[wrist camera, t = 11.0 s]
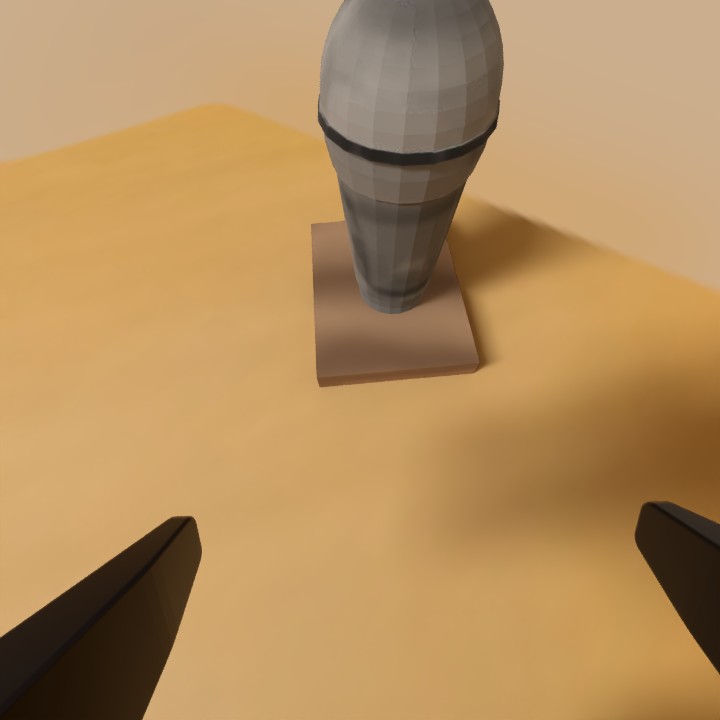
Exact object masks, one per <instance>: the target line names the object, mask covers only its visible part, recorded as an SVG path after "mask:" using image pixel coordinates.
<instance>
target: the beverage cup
mask: <svg viewBox="0 0 720 720" xmlns="http://www.w3.org/2000/svg"><path fill="white" fill-rule="evenodd" d="M503 66H504V62H503V44H502V39H501V34H500V28H499V25H498V22H497V19H496V17H495V14H494V11H493V8H492V6H491V4H490V2H489V0H344V2H343V3H342V5H341V7H340V9H339V10H338V12H337V14H336V16H335V18H334V20H333V22H332V24H331V27H330V30H329V32H328V35H327V38H326V41H325V45H324V50H323V55H322V59H321V72H320V94H319V101H318V122H319V124H320V126H321V127H322V129H323V131H324V136H325V142H326V145H327V148H328V151H329V155H330V158H331V161H332V164H333V167H334V168H335V170H336V172H337V177H338V183H339V188H340V193H341V199H342V204H343V210H344V215H345V221H346V226H347V232H348V237H349V242H350V248H351V253H352V259H353V264H354V270H355V275H356V279H357V281H358V285H359V288H360V294H361V296H362V299H363V301H364V302H365V303H366V304H367V305H368V306H369V307H371V308H373V309H375V310H376V311H378V312H382V313H387V314H400V313H403V312H406V311H409V310H411V309H412V308H414V307H415V306H416V305H418V303H419V302H420V301H421V299H422V298H423V294H424V292H425V290H426V287H427V286H428V284H429V282H430V279H431V277H432V274H433V271H434V268H435V266H436V263H437V260H438V257H439V255H440V252H441V249H442V247H443V244H444V241H445V238H446V236H447V233H448V230H449V227H450V225H451V222H452V219H453V216H454V214H455V211H456V208H457V206H458V203H459V200H460V197H461V195H462V192H463V189H464V186H465V184H466V181H467V179H468V177H469V176H470V175H471V173H472V172H473V170H474V168H475V166H476V164H477V162H478V160H479V158H480V156H481V154H482V152H483V150H484V148H485V145H486V142H487V139H488V138H489V136H490V135H491V134H492V133H493V131H494V130H495V129H496V126H497V120H498V115H499V105H500V100H499V96H500V91H501V86H502V76H503Z"/></svg>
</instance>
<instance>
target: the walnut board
mask: <svg viewBox="0 0 720 720" xmlns="http://www.w3.org/2000/svg"><path fill="white" fill-rule="evenodd" d="M311 233H312V261H313V288H314V315H315V342H316V369H317V380H318V383H319V386H320V387H327V386H338V385H349V384H360V383H371V382H382V381H393V380H404V379H414V378H425V377H436V376H447V375H458V374H469V373H474V372H475V370H476V368H477V367H478V365H479V363H480V362H479V358H478V354H477V350H476V347H475V343H474V339H473V335H472V332H471V328H470V324H469V320H468V317H467V313H466V309H465V305H464V302H463V298H462V294H461V290H460V287H459V283H458V279H457V275H456V272H455V268H454V264H453V260H452V257H451V253H450V249H449V245H448V242H447V238H445V241H444V244H443V247H442V249H441V252H440V255H439V257H438V260H437V263H436V266H435V268H434V271H433V274H432V277H431V279H430V282H429V284H428V286H427V287H426V290H425V292H424V294H423V298H422V299H421V301H420V302H419V303H418V305H416V306H415V307H414V308H412V309H411V310H409V311H406V312H403V313H400V314H387V313H382V312H378V311H376V310H375V309H373V308H371V307H369V306H368V305H367V304H366V303H365V302H364V301H363V299H362V296H361V294H360V288H359V285H358V281H357V279H356V275H355V270H354V264H353V259H352V253H351V248H350V242H349V237H348V232H347V226H346V221H341V222H329V223H317V224H311Z"/></svg>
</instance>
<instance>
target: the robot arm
mask: <svg viewBox="0 0 720 720" xmlns="http://www.w3.org/2000/svg"><path fill="white" fill-rule="evenodd" d="M635 541H636V544H637V547H638V549H639V550H640V552H641V554H642V555H643V557H644V559H645V560H646V562H647V563H648V565H649V567H650V568H651V570H652V572H653V573H654V575H655V577H656V578H657V580H658V582H659V583H660V585H661V586H662V588H663V590H664V591H665V593H666V595H667V596H668V598H669V600H670V601H671V603H672V605H673V606H674V608H675V609H676V611H677V613H678V614H679V616H680V618H681V619H682V621H683V622H684V624H685V625H686V627H687V629H688V630H689V632H690V633H691V635H692V636H693V638H694V639H695V640H696V642H697V643H698V645H699V646H700V648H701V649H702V650H703V652H704V653H705V655H706V656H707V657H708V659H709V660H710V662H711V663H712V664H713V666H714V667H715V669H716V670H717V671H718V673H719V674H720V524H718V523H716V522H714V521H711V520H709V519H707V518H705V517H702V516H700V515H698V514H696V513H694V512H691V511H689V510H687V509H685V508H682V507H680V506H678V505H676V504H673V503H671V502H667V501H652V502H646V503H644V504H643V505H642V507H641V511H640V515H639V519H638V523H637V527H636V531H635ZM201 555H202V547H201V542H200V538H199V533H198V528H197V524H196V521H195V519H194V518H193V517H192V516H175V517H171V518H170V519H168V520H166V521H165V522H164V523H162V524H161V525H159V526H158V527H157V528H155V529H154V530H152V531H151V532H149V533H148V534H147V535H145V536H144V537H142V538H141V539H140V540H138V541H137V542H135V543H134V544H132V545H131V546H130V547H128V548H127V549H125V550H124V551H122V552H121V553H120V554H118V555H117V556H115V557H114V558H113V559H111V560H110V561H108V562H107V563H105V564H104V565H103V566H101V567H100V568H98V569H97V570H95V571H94V572H93V573H91V574H90V575H88V576H87V577H86V578H84V579H83V580H81V581H80V582H78V583H77V584H76V585H74V586H73V587H71V588H70V589H69V590H67V591H66V592H64V593H63V594H61V595H60V596H59V597H57V598H56V599H54V600H53V601H51V602H50V603H49V604H47V605H46V606H44V607H43V608H42V609H40V610H39V611H37V612H36V613H34V614H33V615H32V616H30V617H29V618H27V619H26V620H24V621H23V622H22V623H20V624H19V625H17V626H16V627H14V628H13V629H12V630H10V631H9V632H7V633H6V634H5V635H3V636H2V637H0V720H142V719H143V717H144V714H145V712H146V710H147V707H148V705H149V702H150V700H151V698H152V695H153V693H154V690H155V688H156V686H157V683H158V681H159V679H160V676H161V674H162V671H163V669H164V667H165V664H166V662H167V659H168V657H169V654H170V652H171V649H172V647H173V644H174V641H175V638H176V635H177V633H178V630H179V626H180V623H181V620H182V617H183V614H184V611H185V608H186V604H187V601H188V598H189V595H190V592H191V589H192V586H193V583H194V579H195V576H196V573H197V570H198V567H199V564H200V560H201Z"/></svg>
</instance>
